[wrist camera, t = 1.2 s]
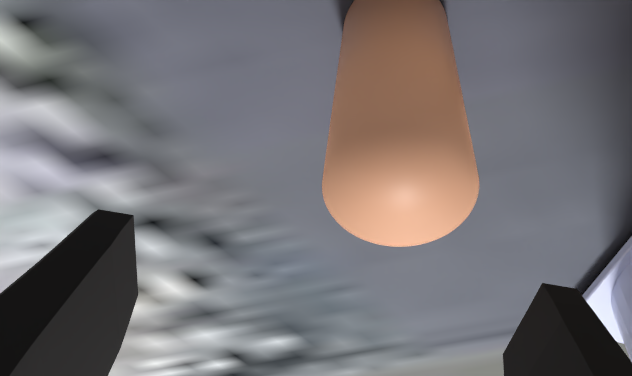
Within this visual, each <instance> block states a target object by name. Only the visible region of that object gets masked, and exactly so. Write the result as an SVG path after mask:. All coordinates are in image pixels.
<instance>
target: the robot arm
mask: <svg viewBox="0 0 632 376" xmlns="http://www.w3.org/2000/svg"><path fill="white" fill-rule="evenodd" d="M137 296H138V286H137V268H136V251H135V234H134V217H133V215H129V214H123V213H117V212H110V211H104V210H97V211H95V212H94V213H92V214H91V215H90V216H89V217H88V218H87V219H86V220H85V221H83V222H82V223H81V224H80V225H79V226H78V227H77V228H76V229H75V230H74V231H72V232H71V233H70V234H69V235H68V236H67V237H66V238H65V239H64V240H62V241H61V242H60V243H59V244H58V245H57V246H56V247H55V248H54V249H52V250H51V251H50V252H49V253H48V254H47V255H46V256H44V257H43V258H42V259H41V260H40V261H39V262H38V263H36V264H35V265H34V266H33V267H32V268H30V269H29V270H28V271H27V272H26V273H24V274H23V275H22V276H21V277H20V278H18V279H17V280H16V281H15V282H14V283H12V284H11V285H10V286H9V287H8V288H6V289H5V290H4V291H3V292H2V293H0V376H108V374H109V372H110V370H111V367H112V365H113V363H114V361H115V359H116V357H117V354H118V352H119V350H120V348H121V345H122V342H123V339H124V336H125V333H126V330H127V327H128V324H129V321H130V318H131V315H132V312H133V309H134V306H135V302H136V299H137ZM617 342H620V343H624V344H625V347H626V350H627V352H628V355H629V358H630V359H629V358H628V357H627V355H626V354H625V353H624V351H623V350H622V349H621V347H620V346H619V345H618V343H617ZM630 360H631V361H630ZM503 363H504V376H632V236H631V237H630V239H629V240H628V241H627V242H626V243H625V245H624V246H623V247H622V248H621V249H620V251H619V252H618V253H617V254H616V255H615V257H614V258H613V259H612V260H611V261H610V263H609V264H608V265H607V266H606V267H605V269H604V270H603V271H602V272H601V273H600V275H599V276H598V277H597V278H596V279H595V281H594V282H593V283H592V284H591V285H590V287H589V288H588V289H587V290H586V291H585V293H584V294H583V295H581V294H580V293H579V291H578V290H577V289H574V288H568V287H562V286H556V285H550V284H544V283H542V285H541V287H540V288H539V290H538V292H537V294H536V296H535V297H534V299H533V301H532V303H531V305H530V306H529V308H528V310H527V312H526V314H525V315H524V317H523V319H522V321H521V323H520V324H519V326H518V328H517V330H516V332H515V333H514V335H513V337H512V339H511V341H510V342H509V344H508V346H507V348H506V350H505V351H504V353H503Z"/></svg>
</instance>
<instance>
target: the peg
mask: <svg viewBox="0 0 632 376" xmlns="http://www.w3.org/2000/svg"><path fill="white" fill-rule="evenodd" d="M322 192H323V197H324V201H325V203H326V206H327V208H328V210H329V212H330V213H331V215H332V216H333V218H334V219H335V220H336V221H337V222H338V223H339V224H340V225H341V226H342V227H343V228H344V229H346V230H347V231H348V232H350V233H351V234H353V235H355V236H357V237H359V238H361V239H363V240H365V241H369V242H372V243H375V244H380V245H385V246H396V247H404V246H414V245H420V244H424V243H428V242H431V241H434V240H436V239H439V238H441V237H443V236H445V235H447V234H448V233H450V232H451V231H453V230H454V229H456V228H457V227H458V226H459V225H460V224H461V223H462V222H463V221H464V220H465V219H466V218H467V217H468V215H469V214H470V212H471V211H472V209H473V207H474V205H475V203H476V200H477V197H478V192H479V176H478V171H477V166H476V161H475V156H474V151H473V146H472V141H471V136H470V131H469V126H468V121H467V116H466V111H465V106H464V101H463V96H462V91H461V86H460V81H459V76H458V71H457V66H456V61H455V56H454V51H453V46H452V41H451V36H450V31H449V26H448V21H447V17H446V13H445V10H444V8H443V6H442V4H441V2H440V1H439V0H354V2H353V3H352V4H351V6H350V8H349V10H348V12H347V14H346V17H345V21H344V27H343V35H342V42H341V49H340V56H339V64H338V71H337V78H336V85H335V93H334V100H333V107H332V114H331V122H330V129H329V136H328V143H327V151H326V158H325V165H324V172H323V181H322Z"/></svg>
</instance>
